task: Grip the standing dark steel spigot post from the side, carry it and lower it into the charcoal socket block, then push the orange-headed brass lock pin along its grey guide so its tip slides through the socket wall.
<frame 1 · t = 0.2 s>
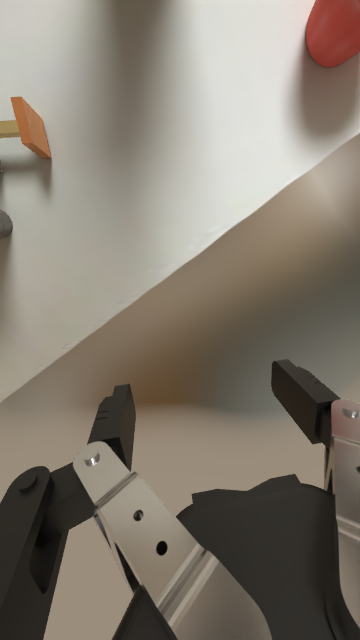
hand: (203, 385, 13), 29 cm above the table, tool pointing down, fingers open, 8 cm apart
flower pot: (330, 33, 31), on the table
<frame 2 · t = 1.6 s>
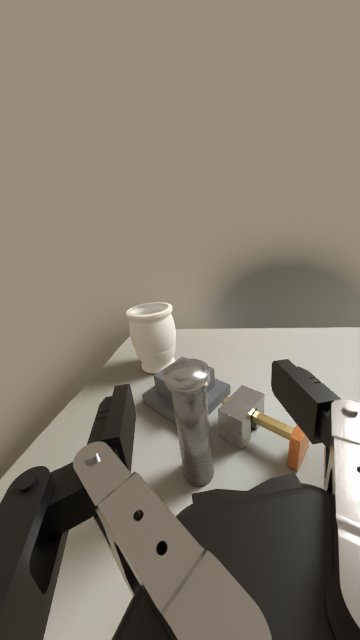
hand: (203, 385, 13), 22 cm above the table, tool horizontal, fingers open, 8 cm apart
jar: (158, 365, 58), on the table
socket: (186, 398, 45), on the table
spigot: (198, 471, 31), on the table
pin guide: (242, 427, 37), on the table
lock pin: (259, 422, 34), point 3 cm above the table, slide at 0.0 cm
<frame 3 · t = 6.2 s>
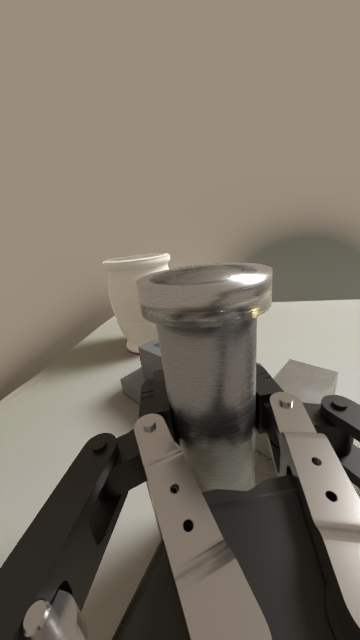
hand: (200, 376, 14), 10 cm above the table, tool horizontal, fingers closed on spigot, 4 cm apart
jar: (151, 344, 41), on the table
socket: (192, 385, 28), on the table
spigot: (220, 531, 14), on the table, touching gripper
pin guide: (294, 434, 20), on the table
when the fingers open (12 cm above the table, at t = 10.1 s): spigot stays where it is, resting on socket.
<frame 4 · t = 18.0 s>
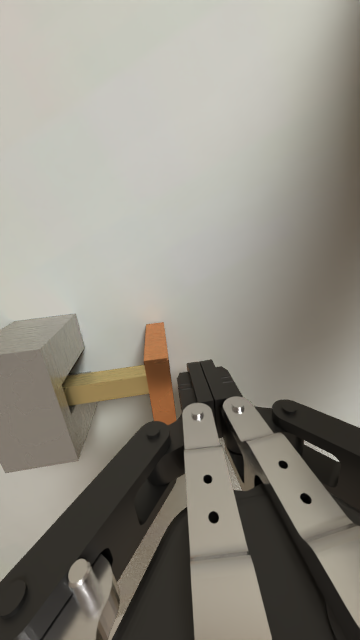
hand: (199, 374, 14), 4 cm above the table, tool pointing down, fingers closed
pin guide: (60, 363, 16), on the table
lock pin: (69, 383, 14), point 3 cm above the table, slide at 1.4 cm, touching gripper
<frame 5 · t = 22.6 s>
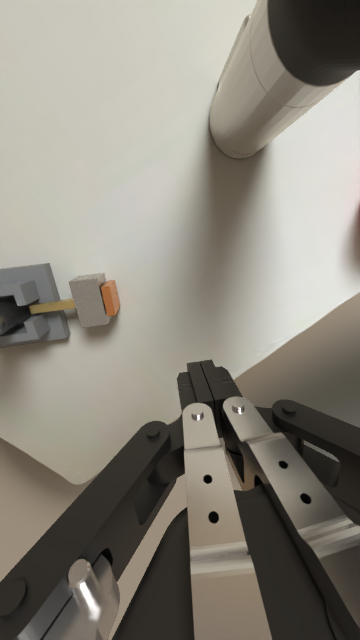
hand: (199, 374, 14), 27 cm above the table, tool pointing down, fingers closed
socket: (22, 305, 37), on the table
spigot: (16, 309, 35), point 2 cm above the table, touching socket
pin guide: (97, 295, 38), on the table
lock pin: (75, 302, 35), point 3 cm above the table, slide at 5.6 cm
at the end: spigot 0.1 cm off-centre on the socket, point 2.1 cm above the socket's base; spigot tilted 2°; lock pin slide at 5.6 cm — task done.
